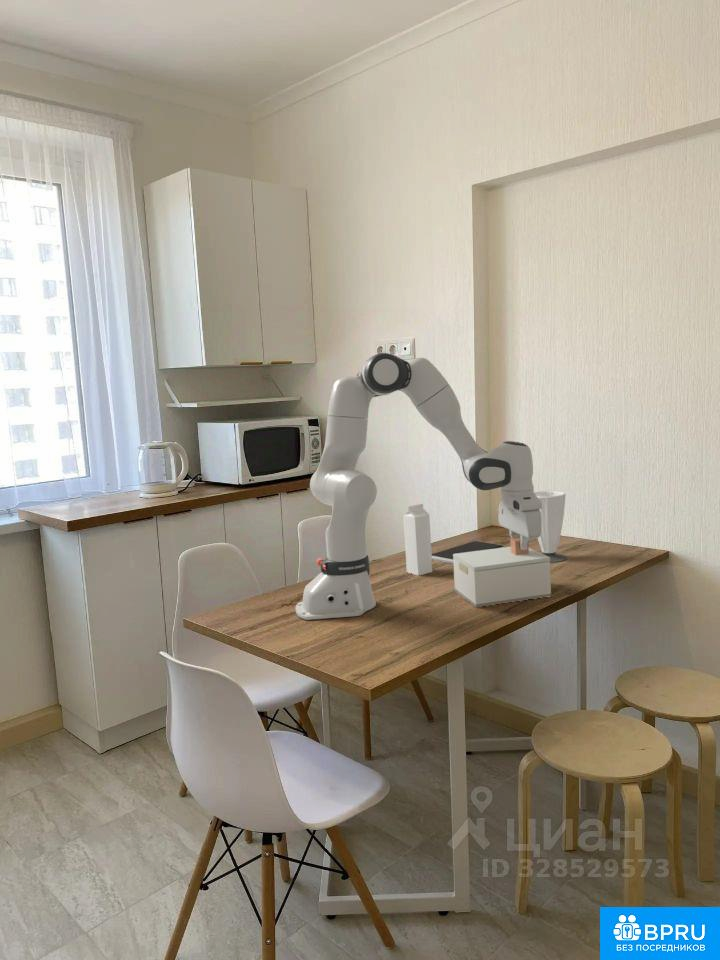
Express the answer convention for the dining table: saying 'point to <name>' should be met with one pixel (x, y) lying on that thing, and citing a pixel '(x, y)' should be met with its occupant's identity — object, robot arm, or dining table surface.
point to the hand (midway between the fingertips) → (519, 547)
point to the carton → (502, 583)
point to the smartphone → (463, 550)
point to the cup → (551, 523)
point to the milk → (417, 540)
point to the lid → (500, 557)
